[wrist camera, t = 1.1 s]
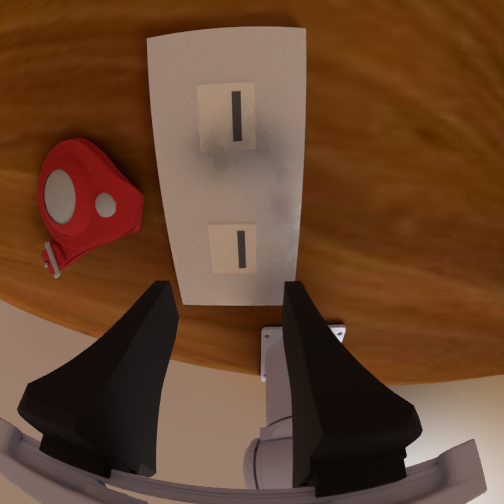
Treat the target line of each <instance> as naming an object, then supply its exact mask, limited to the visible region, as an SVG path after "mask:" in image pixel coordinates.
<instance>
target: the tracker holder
mask: <svg viewBox="0 0 504 504" xmlns="http://www.w3.org/2000/svg"><path fill="white" fill-rule="evenodd" d="M38 198H39V206H40V211H41V214H42V217H43V220H44V223H45V225H46V227H47V229H48V231H49V232H50V234H51V235H52V236H53V238H52V240H51V241H50V243H49V242H46V243H45V248H44V251H43V252H42V254H41V257H42V258H43V260H44V262H45V267H46V268H48V270H49V271H50V273H51V274H52V275H53V276H54V278H57V277H58V276H59V275H60V274H61V273H60V270H62V269H64V268H65V267H67V266H68V265H70V264H71V263H73V262H74V261H76V260H77V259H78V258H80V257H81V256H83V255H84V254H85V253H87V252H88V251H90V250H93V249H95V248H97V247H100V246H102V245H104V244H107V243H109V242H111V241H114V240H116V239H118V238H121V237H123V236H126V235H128V234H131V233H134V232H137V231H139V230H140V229H141V222H142V214H143V207H144V195H143V194H142V193H141V192H140V191H139V190H138V189H137V188H135V187H134V186H133V185H132V184H131V183H130V182H129V181H128V179H127V178H126V177H125V176H123V175H122V173H121V172H120V171H119V170H118V169H117V168H116V166H115V165H114V164H113V162H112V161H111V159H110V158H109V157H108V156H107V155H106V154H105V153H104V152H103V151H102V150H101V149H100V148H98V147H97V146H96V145H95V144H93V143H92V142H91V141H89V140H87V139H85V138H72V139H68V140H64V141H62V142H60V143H59V144H57V145H56V146H55V147H54V148H53V149H52V150H51V151H50V153H49V154H48V156H47V157H46V159H45V161H44V163H43V166H42V169H41V172H40V177H39V185H38Z"/></svg>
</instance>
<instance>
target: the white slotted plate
mask: <svg viewBox="0 0 504 504" xmlns="http://www.w3.org/2000/svg"><path fill="white" fill-rule="evenodd" d="M147 55H148V75H149V90H150V103H151V115H152V125H153V134H154V143H155V151H156V159H157V167H158V174H159V181H160V188H161V194H162V201H163V207H164V213H165V219H166V224H167V230H168V235H169V241H170V246H171V251H172V256H173V261H174V266H175V270H176V275H177V280H178V284H179V289H180V293H181V297H182V302H183V305H229V306H268V305H283V296H284V282H285V281H295V276H296V266H297V254H298V242H299V230H300V216H301V201H302V185H303V166H304V143H305V112H306V28H294V27H228V28H214V29H204V30H195V31H187V32H180V33H174V34H168V35H162V36H157V37H152V38H147Z"/></svg>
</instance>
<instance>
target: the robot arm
mask: <svg viewBox="0 0 504 504" xmlns="http://www.w3.org/2000/svg"><path fill="white" fill-rule="evenodd" d="M178 319H179V315H178V312H177V308H176V304H175V300H174V296H173V292H172V288H171V284H170V281H155V282H154V283H153V284H152V285H151V286H150V287H149V288H148V289H147V290H146V292H145V293H144V294H143V295H142V296H141V297H140V298H139V299H138V300H137V302H136V303H135V304H134V305H133V306H132V307H131V308H130V309H129V310H128V311H127V312H126V313H125V314H124V316H123V317H122V318H121V319H120V320H118V321H117V322H116V323H115V324H114V325H113V326H112V327H111V328H110V329H109V330H108V331H107V332H106V333H105V334H104V335H103V336H102V337H101V338H99V339H98V340H97V341H96V342H95V343H93V344H92V345H91V346H90V347H89V348H87V349H86V350H84V351H83V352H82V353H80V354H79V355H78V356H76V357H75V358H74V359H72V360H71V361H69V362H68V363H66V364H64V365H63V366H61V367H59V368H58V369H56V370H54V371H53V372H51V373H49V374H47V375H45V376H43V377H41V378H39V379H37V380H35V381H33V382H31V383H28V385H27V387H26V389H25V392H24V394H23V397H22V399H21V401H20V403H19V406H18V408H17V410H18V413H19V414H20V416H21V417H22V418H23V419H24V420H26V421H27V422H28V423H29V424H30V425H32V426H33V427H34V428H36V429H37V430H38V431H40V432H41V433H42V434H43V437H42V440H41V442H40V441H38V440H35V439H33V438H31V437H29V436H27V435H25V434H24V433H22V432H21V431H20V430H19V429H18V428H16V427H15V426H13V425H12V424H11V423H9V422H7V421H6V420H4V419H2V418H0V474H1V475H2V476H4V477H5V478H6V479H8V480H9V481H10V482H12V483H13V484H14V485H15V486H17V487H18V488H19V489H21V490H22V491H23V492H25V493H26V494H27V495H29V496H30V497H32V498H33V499H35V500H36V501H38V502H39V503H41V504H148V503H147V502H146V501H143V500H140V499H136V498H134V497H131V496H128V495H126V494H124V493H120V492H117V491H114V490H111V489H108V488H107V487H106V485H105V484H108V485H112V486H115V487H118V488H121V489H125V490H129V491H133V492H136V493H140V494H145V495H149V496H154V497H158V498H164V499H169V500H175V501H181V502H188V503H196V504H466V503H467V502H469V501H471V500H473V499H474V498H476V497H478V496H480V495H481V494H483V493H485V492H486V490H487V487H486V482H485V478H484V473H483V469H482V465H481V461H480V457H479V454H478V450H477V447H476V443H475V440H474V439H472V440H469V441H467V442H465V443H462V444H460V445H458V446H455V447H453V448H451V449H449V450H447V451H445V452H443V453H442V454H440V455H439V456H438V457H436V458H434V459H431V460H428V461H426V462H422V463H420V464H417V465H413V466H410V467H407V468H405V464H404V458H406V456H407V454H406V449H405V448H406V447H407V446H408V445H410V444H411V443H412V442H414V441H415V440H416V439H417V438H418V437H419V436H420V435H421V433H422V431H423V430H422V426H421V423H420V419H419V417H418V414H417V412H416V410H415V408H414V405H412V404H411V403H409V402H408V401H406V400H405V399H403V398H402V397H400V396H399V395H397V394H396V393H394V392H393V391H391V390H390V389H389V388H387V387H386V386H385V385H384V384H383V383H381V382H380V381H379V380H378V379H377V378H376V377H374V376H373V375H372V374H371V373H370V372H369V371H368V370H367V369H366V368H364V367H363V366H362V365H361V364H360V363H359V362H358V361H357V360H356V359H355V358H354V356H353V355H352V354H351V353H350V352H349V351H348V350H347V349H346V348H345V347H344V345H343V344H342V340H343V337H344V334H345V331H346V327H345V325H343V324H338V325H327V323H326V322H325V320H324V319H323V317H322V316H321V314H320V313H319V311H318V310H317V308H316V307H315V305H314V303H313V302H312V300H311V298H310V297H309V295H308V293H307V291H306V289H305V287H304V285H303V283H302V282H301V281H285V282H284V296H283V309H282V327H264V328H263V329H262V330H261V381H263V382H266V427H263V428H260V438H256V439H254V440H253V441H252V442H251V443H250V445H249V446H248V448H247V449H246V452H245V455H244V461H243V475H244V481H245V485H246V488H247V489H225V488H212V487H202V486H193V485H185V484H178V483H172V482H166V481H160V480H155V479H150V478H145V477H151V476H153V475H154V474H156V439H157V424H158V414H159V405H160V398H161V391H162V386H163V382H164V378H165V374H166V371H167V367H168V363H169V360H170V356H171V353H172V349H173V346H174V342H175V338H176V332H177V326H178ZM130 473H131V474H130ZM133 474H135V475H133ZM137 475H140V476H137ZM141 476H145V477H141ZM104 483H105V484H104Z"/></svg>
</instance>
